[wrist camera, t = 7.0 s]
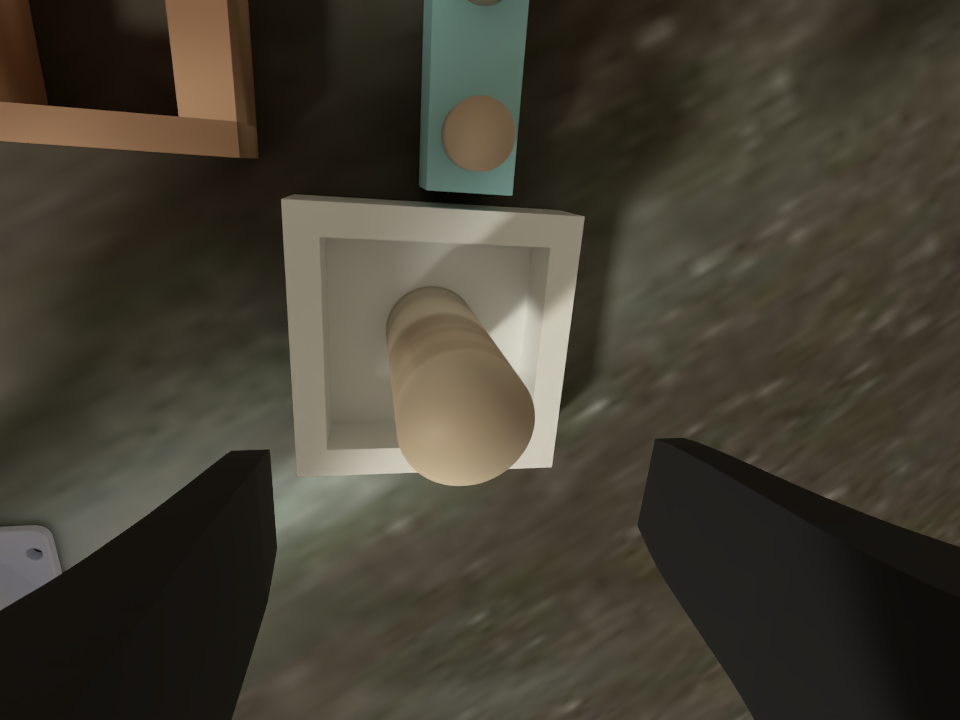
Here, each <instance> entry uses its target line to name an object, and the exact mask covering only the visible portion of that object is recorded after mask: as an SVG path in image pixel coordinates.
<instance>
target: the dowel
mask: <svg viewBox="0 0 960 720" xmlns="http://www.w3.org/2000/svg"><path fill="white" fill-rule="evenodd" d="M386 338H387V348H388V357H389V367H390V376H391V385H392V395H393V404H394V414H395V423H396V432H397V440H398V444H399V447H400V450H401V452H402V454H403V456H404V457H405V459H406V460H407V462H408V463H409V464H410V465H411V467H412V468H413V469H415V470H416V471H417V472H418V473H419V474H421V475H422V476H424V477H426V478H428V479H430V480H432V481H434V482H437V483H440V484H445V485H451V486H468V485H474V484H479V483H482V482H485V481H488V480H490V479H493V478H495V477H497V476H498V475H500V474H502V473H503V472H505V471H506V470H508V469H509V468H510V467H511V466H512V465H513V464H514V463H515V462H516V461H517V460H518V459H519V458H520V457H521V455H522V454H523V453H524V451H525V449H526V448H527V446H528V444H529V442H530V439H531V437H532V434H533V430H534V424H535V410H534V404H533V401H532V397H531V395H530V393H529V391H528V389H527V387H526V386H525V385H524V383H523V382H522V380H521V379H520V377H519V376H518V375H517V373H516V372H515V370H514V369H513V368H512V366H511V365H510V363H509V362H508V361H507V359H506V358H505V356H504V355H503V354H502V352H501V351H500V349H499V348H498V347H497V345H496V344H495V342H494V341H493V340H492V338H491V337H490V335H489V334H488V333H487V331H486V330H485V328H484V327H483V326H482V324H481V323H480V321H479V320H478V319H477V317H476V316H475V314H474V313H473V312H472V310H471V309H470V307H469V306H468V305H467V303H466V302H465V301H464V300H463V299H462V298H461V297H460V296H459V295H458V294H456V293H454V292H453V291H451V290H448V289H446V288H442V287H436V286H428V287H421V288H417V289H415V290H412V291H410V292H408V293H407V294H405V295H404V296H402V297H401V298H400V299H399V300H398V301H397V302H396V303H395V305H394V306H393V308H392V309H391V311H390V313H389V316H388V319H387V323H386Z"/></svg>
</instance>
